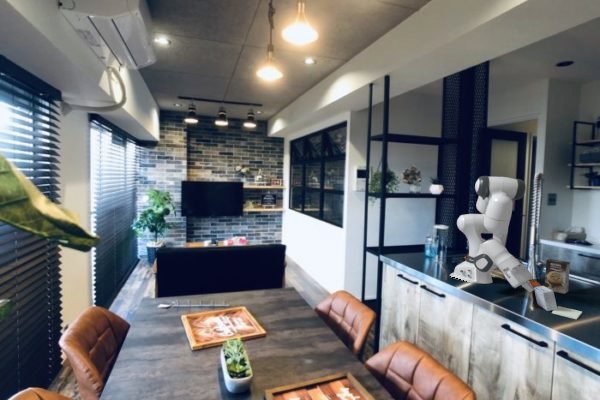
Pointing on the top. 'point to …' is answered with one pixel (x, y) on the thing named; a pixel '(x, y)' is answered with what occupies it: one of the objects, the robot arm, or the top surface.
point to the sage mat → (567, 312)
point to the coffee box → (557, 275)
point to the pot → (534, 283)
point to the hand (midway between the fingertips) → (532, 291)
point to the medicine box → (545, 298)
